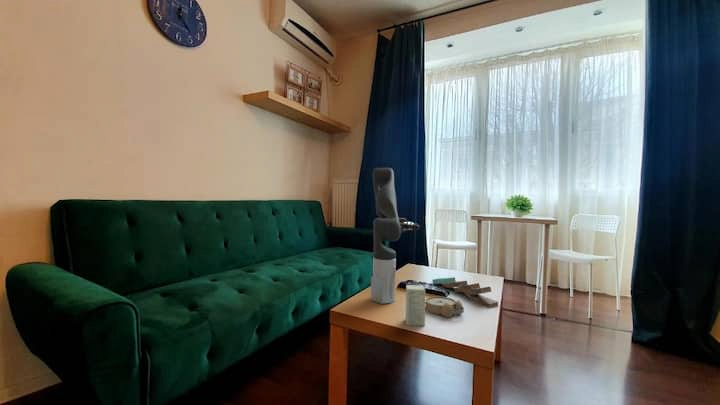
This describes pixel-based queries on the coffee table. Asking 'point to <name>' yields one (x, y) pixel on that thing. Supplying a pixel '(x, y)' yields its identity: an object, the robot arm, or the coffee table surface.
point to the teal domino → (444, 280)
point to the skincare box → (415, 305)
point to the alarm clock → (444, 306)
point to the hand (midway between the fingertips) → (418, 227)
